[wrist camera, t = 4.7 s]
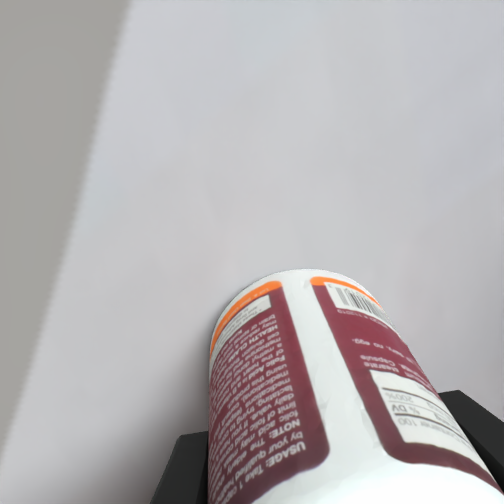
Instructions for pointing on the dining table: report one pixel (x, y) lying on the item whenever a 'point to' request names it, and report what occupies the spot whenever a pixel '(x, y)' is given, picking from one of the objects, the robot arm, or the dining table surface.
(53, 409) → the dining table surface
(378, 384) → the pill bottle
